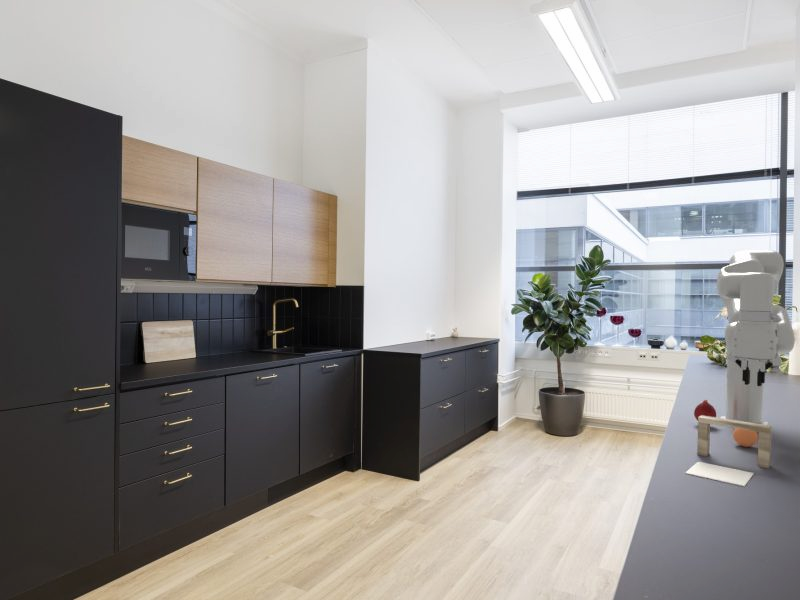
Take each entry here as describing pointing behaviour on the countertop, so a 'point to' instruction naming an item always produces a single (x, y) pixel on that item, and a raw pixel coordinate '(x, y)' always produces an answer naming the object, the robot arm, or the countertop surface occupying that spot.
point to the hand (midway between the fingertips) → (753, 384)
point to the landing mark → (720, 473)
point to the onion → (704, 410)
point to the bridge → (763, 430)
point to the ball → (745, 437)
